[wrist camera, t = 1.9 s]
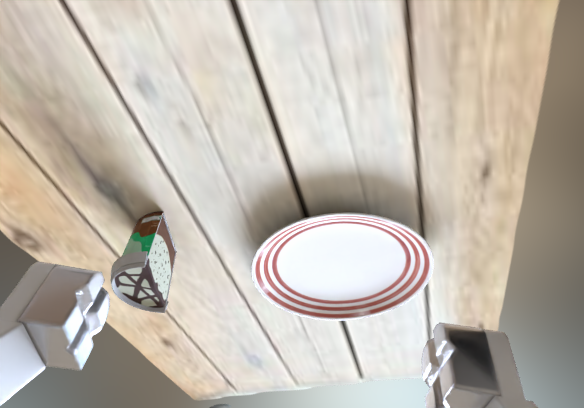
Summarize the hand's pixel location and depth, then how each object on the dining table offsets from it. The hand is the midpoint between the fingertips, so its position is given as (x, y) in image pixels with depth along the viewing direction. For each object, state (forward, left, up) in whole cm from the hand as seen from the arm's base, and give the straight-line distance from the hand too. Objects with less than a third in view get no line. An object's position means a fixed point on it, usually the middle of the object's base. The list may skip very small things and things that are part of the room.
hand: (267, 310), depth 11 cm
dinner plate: (+38, -30, -36) cm, 61 cm away
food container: (+13, -45, -36) cm, 59 cm away
